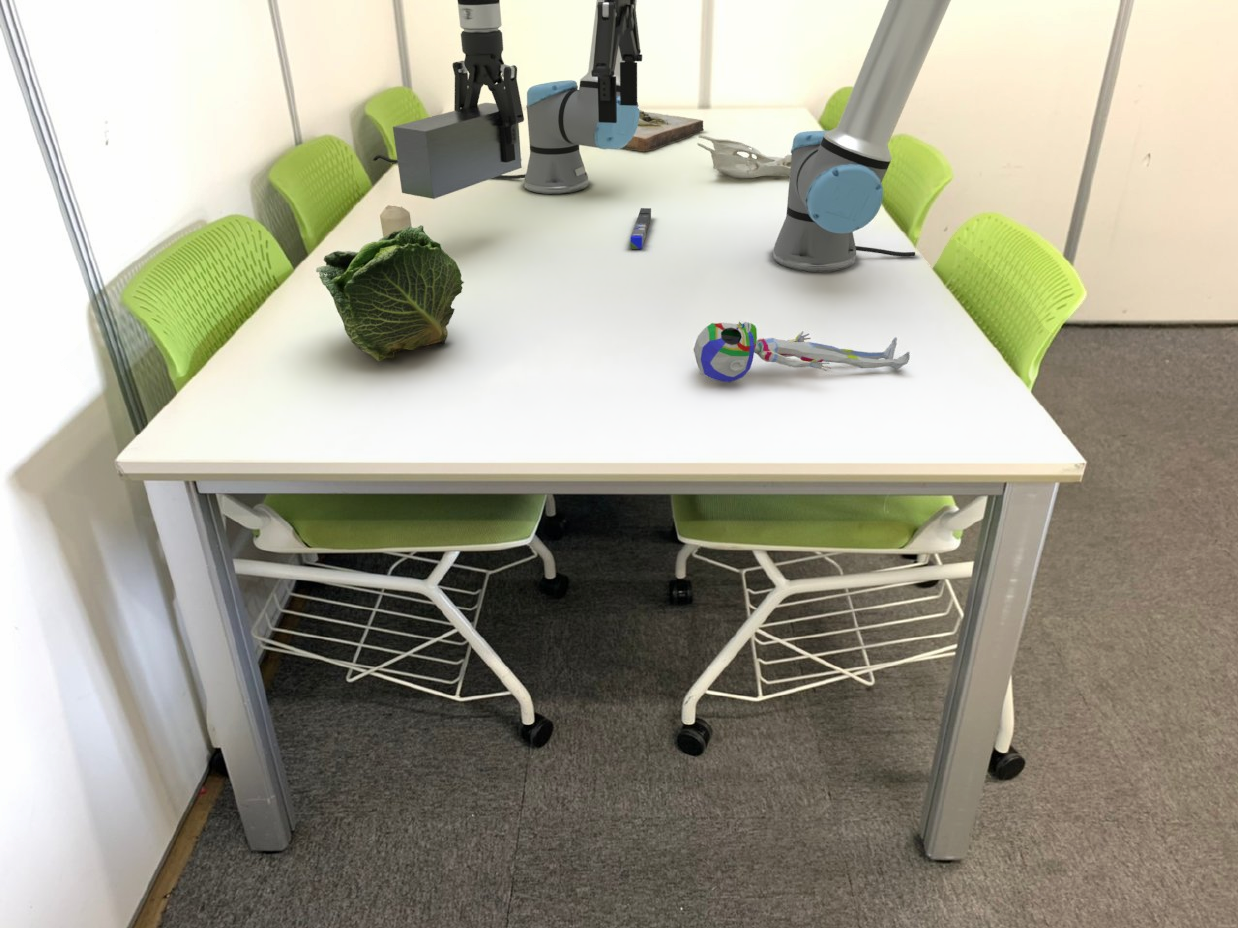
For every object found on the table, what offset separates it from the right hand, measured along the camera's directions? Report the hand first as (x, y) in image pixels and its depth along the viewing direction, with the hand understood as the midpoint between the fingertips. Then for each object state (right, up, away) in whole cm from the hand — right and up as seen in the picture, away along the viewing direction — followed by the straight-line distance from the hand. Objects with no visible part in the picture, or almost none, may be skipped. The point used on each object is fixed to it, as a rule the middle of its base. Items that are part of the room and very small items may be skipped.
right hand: (618, 113), depth 143 cm
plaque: (+4, +39, +116) cm, 122 cm away
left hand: (-25, +4, +32) cm, 41 cm away
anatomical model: (+32, +15, +77) cm, 85 cm away
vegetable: (-34, -38, -4) cm, 51 cm away
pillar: (+5, -9, +41) cm, 42 cm away
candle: (-42, -17, +30) cm, 54 cm away
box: (-29, -2, +27) cm, 40 cm away
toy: (+26, -43, -14) cm, 52 cm away
